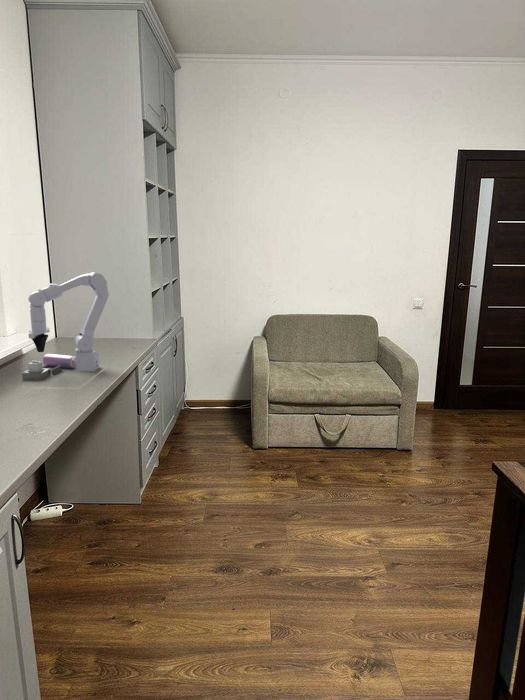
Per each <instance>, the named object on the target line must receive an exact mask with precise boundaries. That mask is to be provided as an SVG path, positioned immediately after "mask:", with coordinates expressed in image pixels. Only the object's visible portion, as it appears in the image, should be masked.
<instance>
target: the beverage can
mask: <svg viewBox="0 0 525 700" xmlns="http://www.w3.org/2000/svg"><path fill="white" fill-rule="evenodd" d="M41 361H42V366H45V365H48V368H55V367H57V366H59V365H61V369H73V370H74V369H76V357H75V355H69V354H68V355H66V354H57V353H56V354H55V353H46V354H44V355H43V356H42V360H41Z"/></svg>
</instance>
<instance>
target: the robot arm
mask: <svg viewBox="0 0 525 700" xmlns="http://www.w3.org/2000/svg"><path fill="white" fill-rule="evenodd" d="M79 286H86V287H87V286H88V287H91V288H92V290H93V292H94V294H95V297H94V300H93V302H92V305H91V307H90V310H89V312H88V314H87V317H86V320H85V322H84V324H83V327H82V328H81V329H80V331H79V333H78V334H77V335H76V336H75V337H74V340H73V343H74V345H75V346H76V348H75V349H74V356H75V357H76V368H74V369H73V372H74V371H75V372H95V371H96V370H97V369H99V368H100V358H99V352H98V351H97V350H93V340H94V338H95V337H94V335H95V330H96V328H97V325H98V323H99V320H100V318H101V316H102V312H103V311H104V309H105V306H106V304H107V302H108V298H109V295H110V293H109V289H108V282H107V280H106V277H104V275H103V274H102V273H98V272H96V271H91V272H89V273H85V274H81V275H79V276H77V277H74V278H72V279H70V280H68V281H65V282H64V283H62V284H58V283H49V284H48V286H46V287H44V288H39V289H37V291H33V292H31V293H30V294H29V295H28V302H29V303H30V305H29V308H30V310H29V312H30V313H29V314H30V325H31V329H30V330H29V331H28V332H29V333H28V335H27V336H28V339H31V340H32V341H33V343H34V345H35V349H36V351H37V353H43V352H45V347H46V342H47V340H48V338H49V334H48V333H50V327H47V319H46V309H45V303H48V302H51V301H53V300H56V299H58V298H60V297H62V296H63V293H65V292H67V291H69V290H72V289H75V288H77V287H79Z"/></svg>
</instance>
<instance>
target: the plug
mask: <svg viewBox="0 0 525 700" xmlns="http://www.w3.org/2000/svg"><path fill="white" fill-rule="evenodd" d="M43 366H44V365H43V362H42V360H41V361H39V360H31V362H28V363H27V367H28V368H27V370H29V372H38V373H40V372H42V371H43Z"/></svg>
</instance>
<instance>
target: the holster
mask: <svg viewBox="0 0 525 700" xmlns="http://www.w3.org/2000/svg"><path fill="white" fill-rule="evenodd" d="M42 366H43V368H49V367H48V365H45V366H44V365H42ZM61 371H62V368H61V365H59V366H57V367H52V369H50V373H51V375H50V376H54V375H57V374H58V373H60V372H61Z"/></svg>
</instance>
